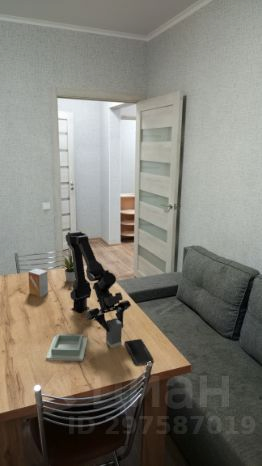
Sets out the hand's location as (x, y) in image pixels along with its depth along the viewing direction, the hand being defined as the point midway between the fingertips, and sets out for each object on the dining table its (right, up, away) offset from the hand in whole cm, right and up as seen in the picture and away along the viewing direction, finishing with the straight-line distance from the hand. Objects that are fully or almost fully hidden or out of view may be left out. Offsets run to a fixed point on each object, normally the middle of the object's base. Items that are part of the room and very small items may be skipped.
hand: (115, 329), depth 133 cm
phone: (+9, -9, -2) cm, 13 cm away
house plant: (-29, +11, +65) cm, 72 cm away
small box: (-44, +6, +46) cm, 64 cm away
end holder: (-19, -7, -2) cm, 20 cm away
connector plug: (-1, -7, +3) cm, 7 cm away
